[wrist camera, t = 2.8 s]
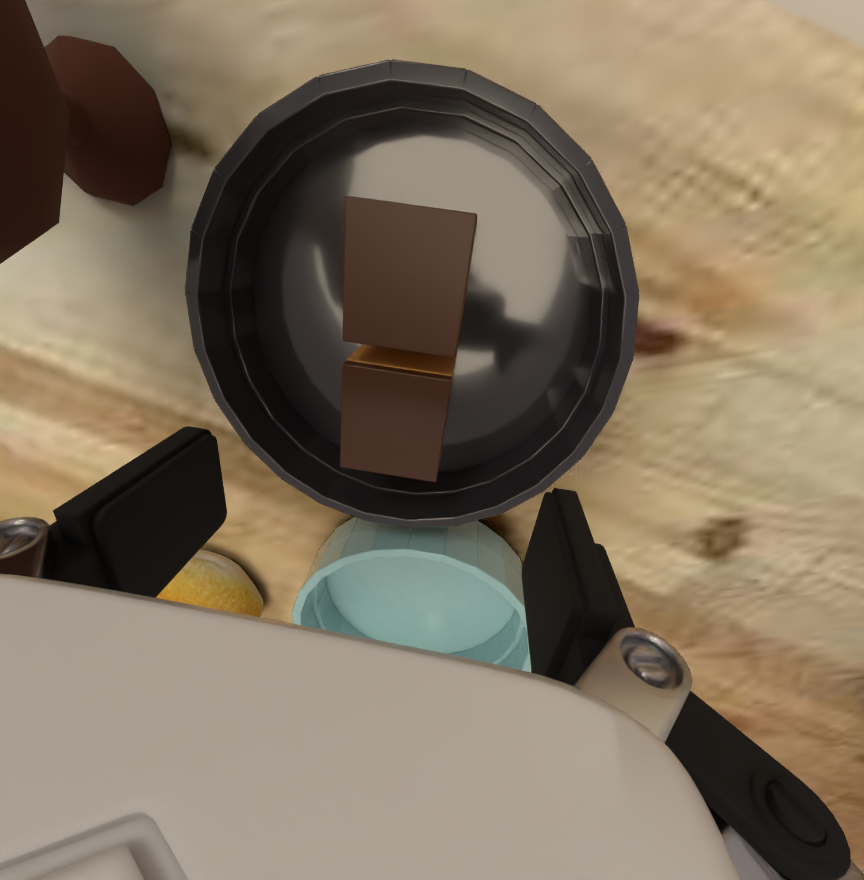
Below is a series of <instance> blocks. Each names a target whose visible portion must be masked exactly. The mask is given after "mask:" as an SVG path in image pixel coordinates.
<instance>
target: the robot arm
mask: <svg viewBox="0 0 864 880" xmlns="http://www.w3.org/2000/svg"><path fill="white" fill-rule="evenodd" d="M53 512H54V515H55V517H56V520H57V521H56V522H54V523H53V524H51V525H50V526H49V524H48V523H47V522H45V521H44V520H42V519H39V518H35V517H21V518H13V519H7V520H3V521H0V880H864V874H863V873H862V872H861V870H860V869H859V868H858V867H857V866H856V865H855V864H854V863H853V862H852V860H851V859H850V848H849V846H848V843H847V840H846V837H845V835H844V832H843V830H842V829H841V827H840V825H839V824H838V822H837V820H836V819H835V817H834V815H833V814H832V813H831V811H830V810H829V809H828V808H827V807H826V805H825V804H824V803H823V802H822V800H821V799H820V798H819V797H818V796H817V795H816V794H815V793H814V792H813V791H812V790H811V789H810V788H809V787H808V786H806V785H805V784H804V783H803V782H802V781H801V780H800V779H798V778H797V777H796V776H795V775H794V774H792V773H791V772H790V771H789V770H787V769H786V768H785V767H784V766H782V765H781V764H780V763H779V762H778V761H776V760H775V759H774V758H773V757H771V756H770V755H769V754H768V753H766V752H765V751H764V750H763V749H762V748H760V747H759V746H758V745H757V744H755V743H754V742H753V741H752V740H750V739H749V738H748V737H747V736H746V735H744V734H743V733H742V732H741V731H739V730H738V729H737V728H736V727H734V726H733V725H732V724H731V723H730V722H728V721H727V720H726V719H725V718H723V717H722V716H721V715H720V714H718V713H717V712H716V711H715V710H714V709H712V708H711V707H710V706H709V705H707V704H706V703H705V702H704V701H702V700H701V699H700V698H699V697H698V696H696V695H695V694H694V693H693V692H691V691H690V690H691V685H692V677H691V672H690V669H689V667H688V665H687V664H686V662H685V660H684V658H683V657H682V656H681V655H680V654H679V652H678V651H677V650H676V649H675V648H674V647H673V646H672V645H670V644H669V643H668V642H667V641H666V640H664V639H663V638H661V637H659V636H658V635H656V634H654V633H652V632H650V631H647V630H644V629H641V628H635V626H634V624H633V621H632V618H631V616H630V613H629V611H628V608H627V605H626V603H625V600H624V597H623V595H622V592H621V590H620V587H619V584H618V582H617V579H616V576H615V574H614V571H613V569H612V566H611V563H610V561H609V558H608V556H607V553H606V550H605V549H604V547H603V546H602V545H601V544H596V543H594V540H593V537H592V534H591V531H590V529H589V526H588V523H587V520H586V517H585V515H584V512H583V509H582V506H581V503H580V501H579V498H578V495H577V493H576V492H575V491H570V490H564V489H558V488H554V489H553V491H552V493H550V492H546V493H545V494H544V497H543V500H542V504H541V507H540V510H539V513H538V517H537V520H536V523H535V526H534V530H533V533H532V536H531V539H530V543H529V546H528V549H527V552H526V556H525V559H524V562H523V566H522V586H523V596H524V605H525V615H526V624H527V633H528V643H529V652H530V662H531V671H532V673H530V672H526V671H522V670H519V669H515V668H511V667H507V666H502V665H498V664H493V663H488V662H484V661H479V660H474V659H469V658H465V657H460V656H455V655H451V654H446V653H441V652H436V651H431V650H426V649H421V648H416V647H411V646H406V645H401V644H396V643H390V642H385V641H380V640H375V639H370V638H365V637H360V636H355V635H350V634H345V633H339V632H334V631H329V630H324V629H319V628H313V627H308V626H303V625H298V624H292V623H287V622H282V621H277V620H271V619H266V618H261V617H256V616H250V615H245V614H240V613H234V612H229V611H224V610H219V609H213V608H208V607H202V606H197V605H192V604H186V603H181V602H175V601H170V600H164V599H159V598H156V597H157V596H158V595H159V594H160V593H161V591H162V590H163V589H164V588H165V587H166V586H167V585H168V584H169V583H170V582H171V580H172V579H173V578H174V577H175V576H176V575H177V574H178V573H179V572H180V571H181V569H182V568H183V567H184V566H185V565H186V564H187V563H188V562H189V561H190V560H191V558H192V557H193V556H194V555H195V554H196V553H197V552H198V551H199V550H200V548H201V547H202V546H203V545H204V544H205V543H206V542H207V541H208V540H209V539H210V537H211V536H212V535H213V534H214V533H215V532H216V531H217V530H218V529H219V528H220V526H221V525H222V524H223V523H224V521H225V519H226V515H227V509H226V501H225V494H224V487H223V480H222V473H221V466H220V459H219V452H218V444H217V439H216V437H215V436H212V434H211V432H210V431H209V430H207V429H201V428H195V427H189V426H186V427H184V428H182V429H180V430H179V431H177V432H176V433H174V434H173V435H171V436H169V437H168V438H166V439H165V440H163V441H162V442H160V443H158V444H157V445H155V446H154V447H152V448H151V449H149V450H147V451H146V452H144V453H143V454H141V455H140V456H138V457H137V458H135V459H133V460H132V461H130V462H129V463H127V464H126V465H124V466H122V467H121V468H119V469H118V470H116V471H115V472H113V473H111V474H110V475H108V476H107V477H105V478H104V479H102V480H100V481H99V482H97V483H96V484H94V485H93V486H91V487H89V488H88V489H86V490H85V491H83V492H82V493H80V494H78V495H77V496H75V497H74V498H72V499H71V500H69V501H67V502H66V503H64V504H63V505H61V506H60V507H58V508H56V509H55V510H53Z"/></svg>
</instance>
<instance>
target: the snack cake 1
mask: <svg viewBox="0 0 864 880" xmlns="http://www.w3.org/2000/svg"><path fill="white" fill-rule="evenodd" d="M476 226H477V214H476V213H469V212H462V211H455V210H447V209H440V208H433V207H426V206H418V205H411V204H404V203H397V202H389V201H382V200H375V199H368V198H360V197H353V196H346V197H345V228H344V281H343V333H342V340H343V341H345V342H352V343H359V344H365V345H372V346H379V347H385V348H392V349H399V350H405V351H412V352H419V353H425V354H432V355H439V356H446V357H452V358H455V357H456V352H457V346H458V340H459V335H460V329H461V323H462V316H463V310H464V303H465V297H466V290H467V284H468V277H469V271H470V264H471V258H472V251H473V245H474V238H475V232H476Z"/></svg>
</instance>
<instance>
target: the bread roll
mask: <svg viewBox="0 0 864 880" xmlns="http://www.w3.org/2000/svg"><path fill="white" fill-rule="evenodd" d="M156 598H159V599H164V600H170V601H175V602H181V603H186V604H192V605H197V606H202V607H208V608H213V609H219V610H224V611H229V612H234V613H240V614H245V615H250V616H256V617H260V616H261V613H262V610H263V599H262V597H261V595H260V593H259V591H258V588H257V587H256V586H255V585H254V583H253V582H252V581H251V579H250V578H249V577H248V576H247V574H246V573H245V572H244V571H243V570H242V568H241V567H240V566H239V565H238V564H236V563H235V562H233V561H232V560H230V559H228V558H227V557H224V556H222V555H220V554H217V553H213V552H210V551H207V550H202V549H200V550H199V551H198V552H197V553H196V554H195V555H194V556H193V557H192V558H191V560H190V561H189V562H188V563H187V564H186V565H185V566H184V567H183V568H182V569H181V571H180V572H179V573H178V574H177V575H176V576H175V577H174V578H173V579H172V580H171V582H170V583H169V584H168V585H167V586H166V587H165V588H164V589H163V590H162V591H161V593H160V594H159V595H158V596H157V597H156Z"/></svg>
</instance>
